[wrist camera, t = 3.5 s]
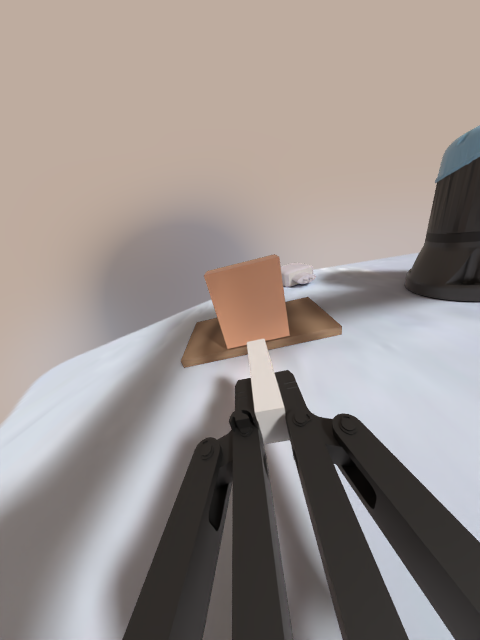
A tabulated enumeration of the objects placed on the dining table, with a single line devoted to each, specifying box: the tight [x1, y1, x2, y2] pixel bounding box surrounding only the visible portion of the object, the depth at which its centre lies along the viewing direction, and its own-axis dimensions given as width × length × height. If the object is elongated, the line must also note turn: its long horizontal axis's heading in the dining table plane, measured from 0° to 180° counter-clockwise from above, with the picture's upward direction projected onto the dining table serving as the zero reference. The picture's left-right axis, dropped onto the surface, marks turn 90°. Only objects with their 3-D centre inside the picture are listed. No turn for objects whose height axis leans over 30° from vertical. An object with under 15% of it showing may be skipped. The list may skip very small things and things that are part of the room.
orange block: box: [204, 255, 290, 349], centre depth 30 cm, size 10×9×12 cm
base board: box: [181, 297, 342, 368], centre depth 35 cm, size 26×14×2 cm, turn 92°
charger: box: [280, 262, 316, 287], centre depth 55 cm, size 5×9×15 cm
